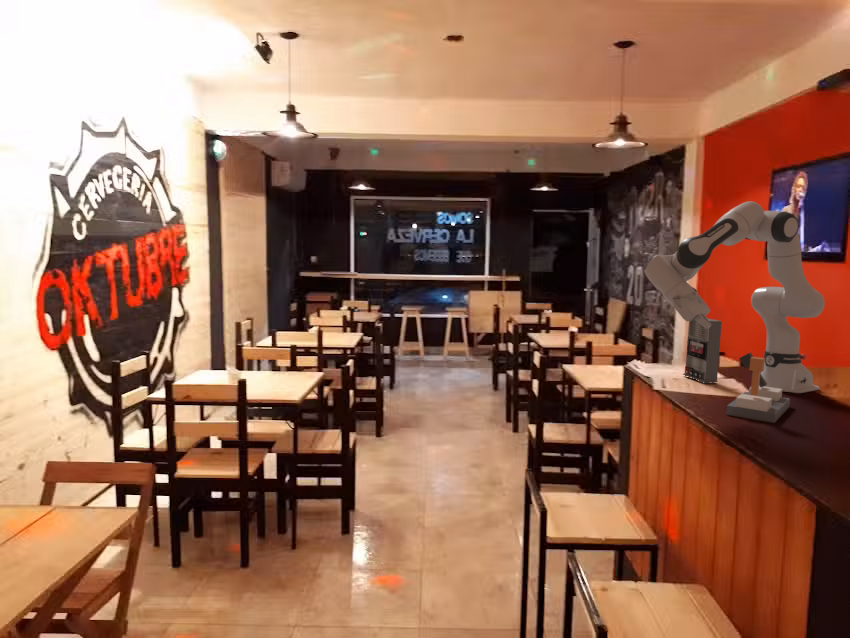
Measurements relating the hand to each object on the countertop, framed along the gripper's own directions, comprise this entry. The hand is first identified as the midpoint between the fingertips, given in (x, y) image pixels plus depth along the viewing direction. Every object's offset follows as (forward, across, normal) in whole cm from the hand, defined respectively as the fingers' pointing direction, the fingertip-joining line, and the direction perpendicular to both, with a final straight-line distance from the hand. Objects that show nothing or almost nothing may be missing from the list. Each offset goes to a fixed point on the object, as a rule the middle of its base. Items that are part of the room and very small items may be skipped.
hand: (708, 327), depth 214 cm
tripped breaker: (+26, 0, +4) cm, 26 cm away
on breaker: (+25, +18, +4) cm, 31 cm away
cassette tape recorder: (+10, +46, +29) cm, 55 cm away
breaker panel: (+30, +9, +8) cm, 33 cm away
